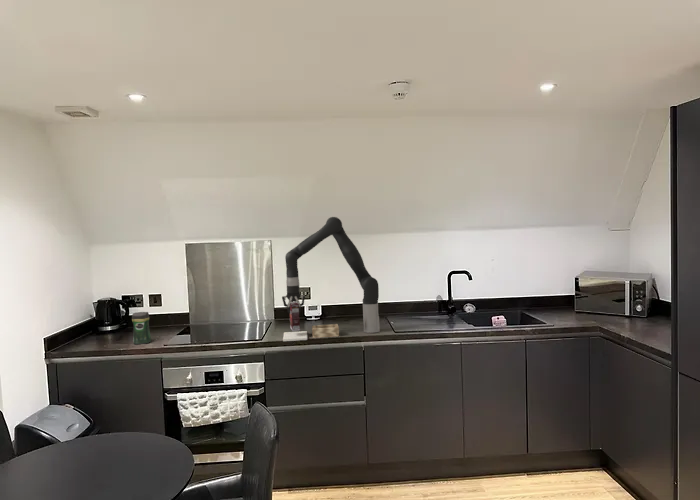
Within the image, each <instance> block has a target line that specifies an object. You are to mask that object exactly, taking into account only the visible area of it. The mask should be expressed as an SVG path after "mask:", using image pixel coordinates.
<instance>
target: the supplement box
mask: <svg viewBox="0 0 700 500" xmlns="http://www.w3.org/2000/svg"><path fill="white" fill-rule="evenodd" d="M289 307H290V314H289V327H290V330H291V332H300V330H301V326H300V325H301V323H300V320H301V319H300V313H299V304H298V303H297V301H296V302H291V303H290V306H289Z"/></svg>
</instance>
